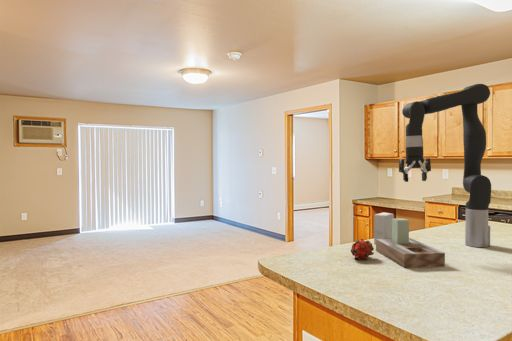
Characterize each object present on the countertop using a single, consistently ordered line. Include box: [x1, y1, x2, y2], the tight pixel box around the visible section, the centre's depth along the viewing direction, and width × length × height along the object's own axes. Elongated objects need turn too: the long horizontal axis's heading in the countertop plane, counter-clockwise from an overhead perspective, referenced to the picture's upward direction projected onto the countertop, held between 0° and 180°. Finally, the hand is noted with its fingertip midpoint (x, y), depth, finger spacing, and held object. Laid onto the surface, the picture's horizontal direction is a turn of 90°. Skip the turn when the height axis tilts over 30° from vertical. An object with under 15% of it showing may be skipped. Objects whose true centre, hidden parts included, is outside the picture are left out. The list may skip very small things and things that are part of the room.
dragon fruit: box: [350, 238, 375, 260], centre depth 150 cm, size 8×8×12 cm
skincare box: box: [373, 211, 395, 245], centre depth 176 cm, size 8×6×15 cm
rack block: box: [375, 237, 446, 269], centre depth 151 cm, size 16×26×5 cm, turn 5°
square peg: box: [392, 217, 410, 244], centre depth 157 cm, size 5×5×14 cm
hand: (415, 181), depth 168 cm, fingers open, 8 cm apart
